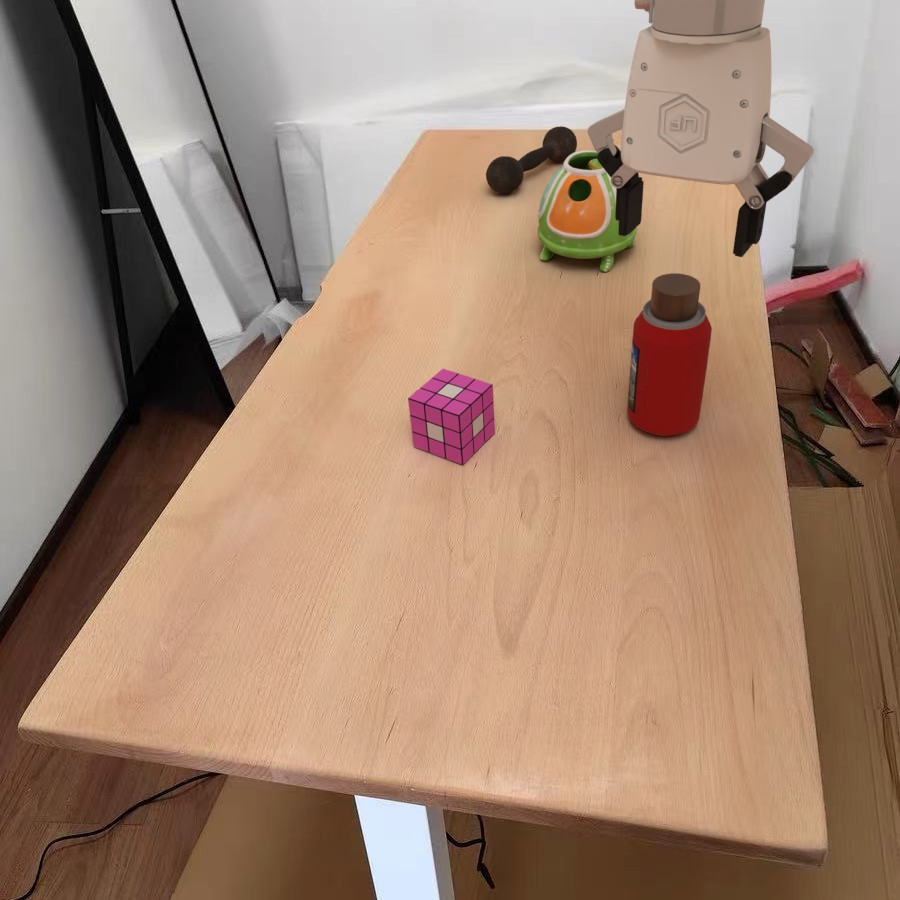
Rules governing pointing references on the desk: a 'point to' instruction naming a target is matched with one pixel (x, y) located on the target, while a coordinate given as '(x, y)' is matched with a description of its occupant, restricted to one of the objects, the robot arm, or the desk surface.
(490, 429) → the puzzle toy
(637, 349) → the beverage can
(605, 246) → the turtle holder
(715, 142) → the robot arm
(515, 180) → the dumbbell
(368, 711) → the desk surface
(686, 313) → the dark brown cylinder
